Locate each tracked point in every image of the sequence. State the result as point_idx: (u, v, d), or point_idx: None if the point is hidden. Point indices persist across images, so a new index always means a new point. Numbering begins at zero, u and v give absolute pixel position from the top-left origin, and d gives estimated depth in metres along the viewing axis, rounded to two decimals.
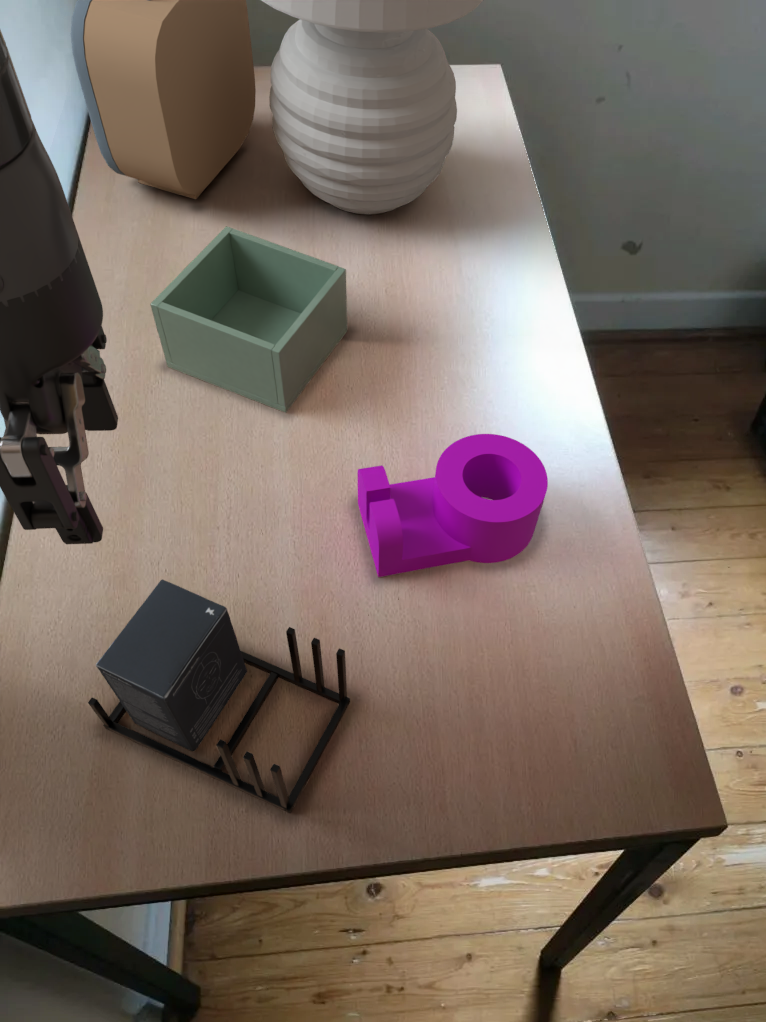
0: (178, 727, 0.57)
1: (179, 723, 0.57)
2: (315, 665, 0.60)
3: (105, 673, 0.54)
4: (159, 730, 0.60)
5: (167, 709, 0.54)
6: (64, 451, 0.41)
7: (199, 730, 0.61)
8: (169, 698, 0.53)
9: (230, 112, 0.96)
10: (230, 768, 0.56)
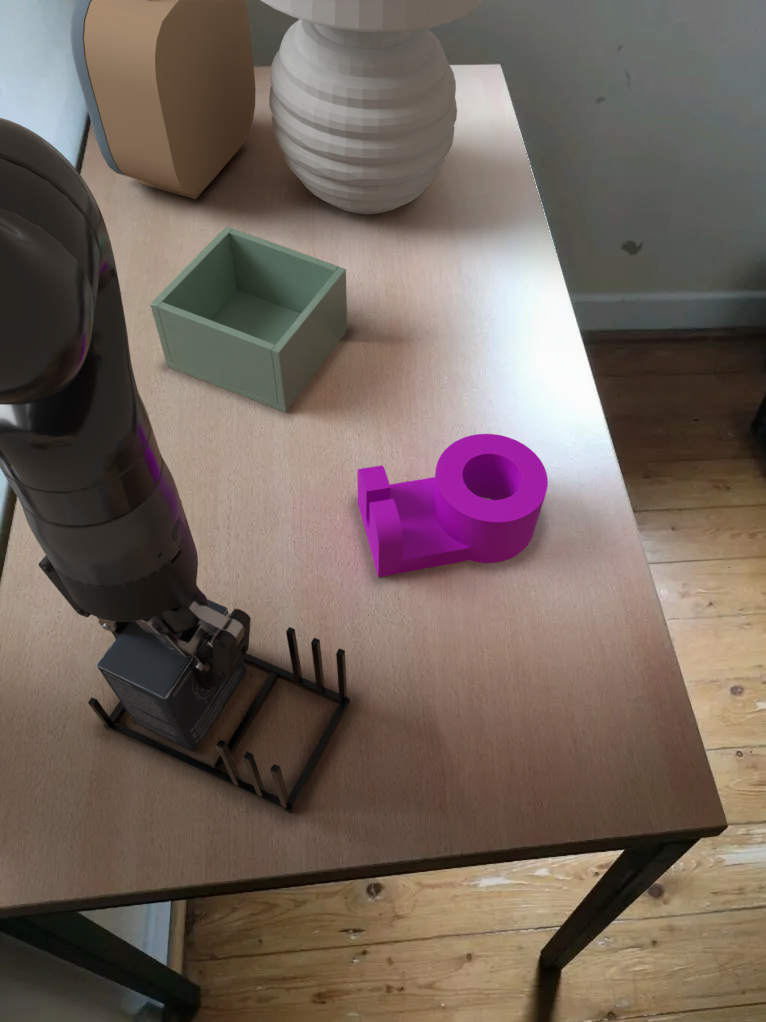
0: (178, 727, 0.57)
1: (180, 724, 0.57)
2: (315, 665, 0.60)
3: (106, 673, 0.54)
4: (159, 730, 0.60)
5: (168, 709, 0.54)
6: None
7: (199, 730, 0.61)
8: (169, 699, 0.53)
9: (230, 112, 0.96)
10: (230, 768, 0.56)
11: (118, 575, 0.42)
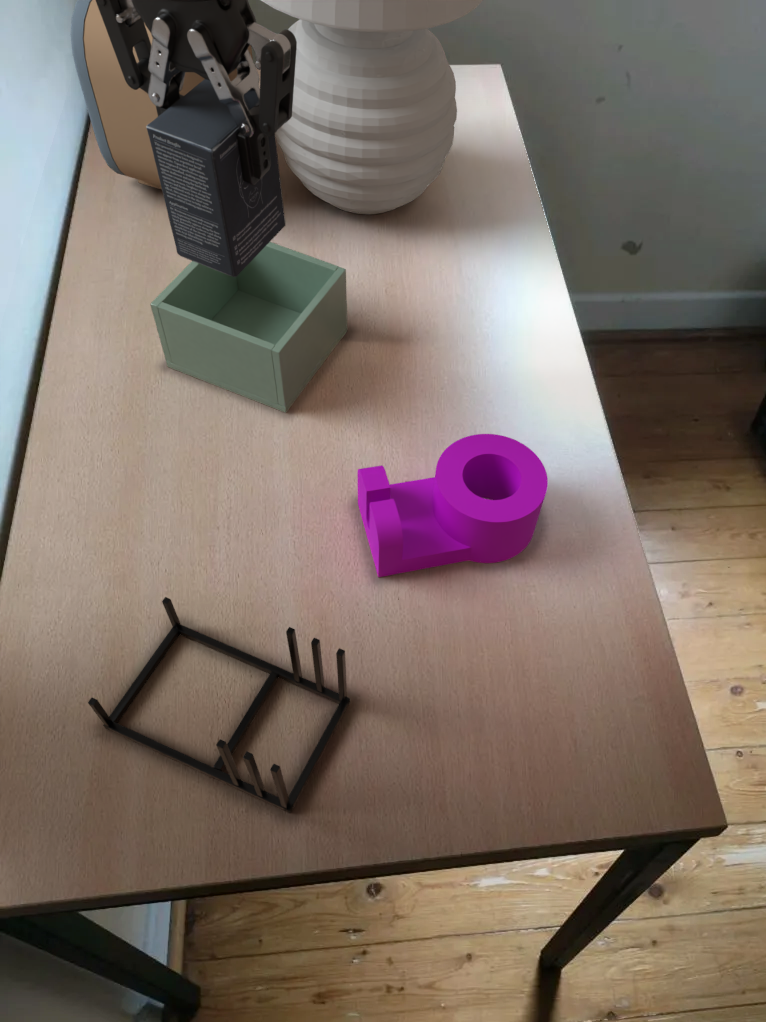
0: (222, 219, 0.59)
1: (224, 212, 0.59)
2: (315, 665, 0.60)
3: (155, 138, 0.56)
4: (202, 247, 0.63)
5: (214, 176, 0.56)
6: (249, 74, 0.55)
7: (241, 249, 0.63)
8: (216, 156, 0.55)
9: None
10: (230, 768, 0.56)
11: None
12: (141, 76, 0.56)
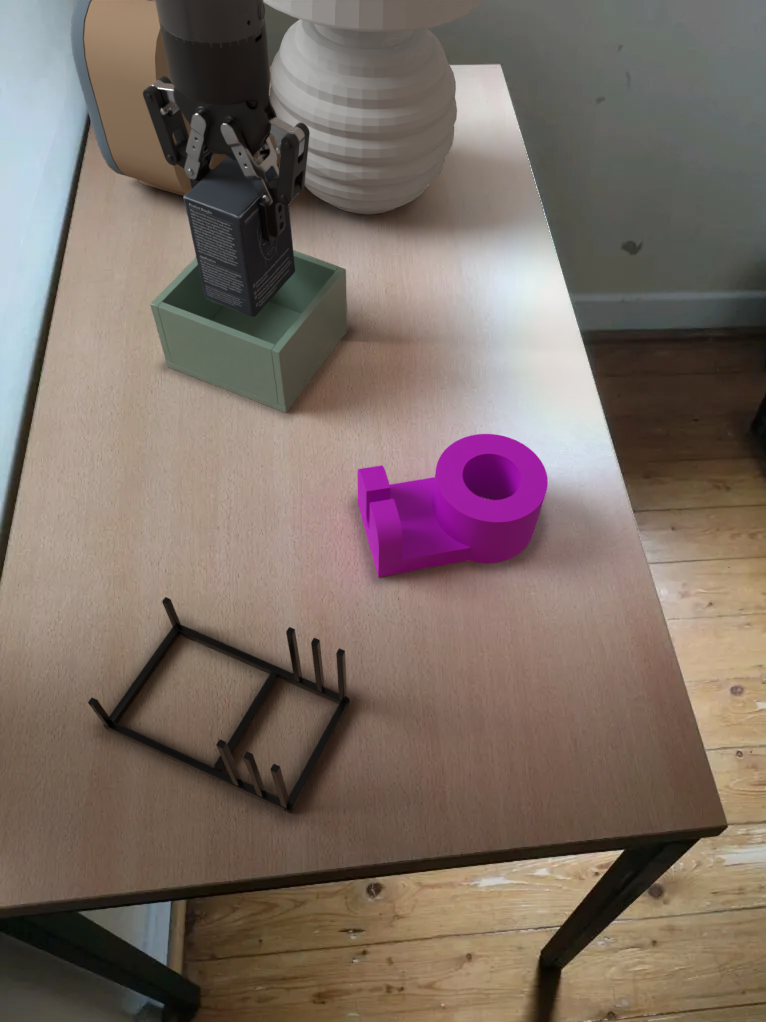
0: (245, 270, 0.71)
1: (247, 265, 0.70)
2: (315, 665, 0.60)
3: (190, 206, 0.68)
4: (227, 292, 0.74)
5: (239, 237, 0.68)
6: (269, 155, 0.66)
7: (259, 294, 0.74)
8: (242, 222, 0.67)
9: None
10: (230, 768, 0.56)
11: (219, 30, 0.56)
12: (178, 155, 0.68)
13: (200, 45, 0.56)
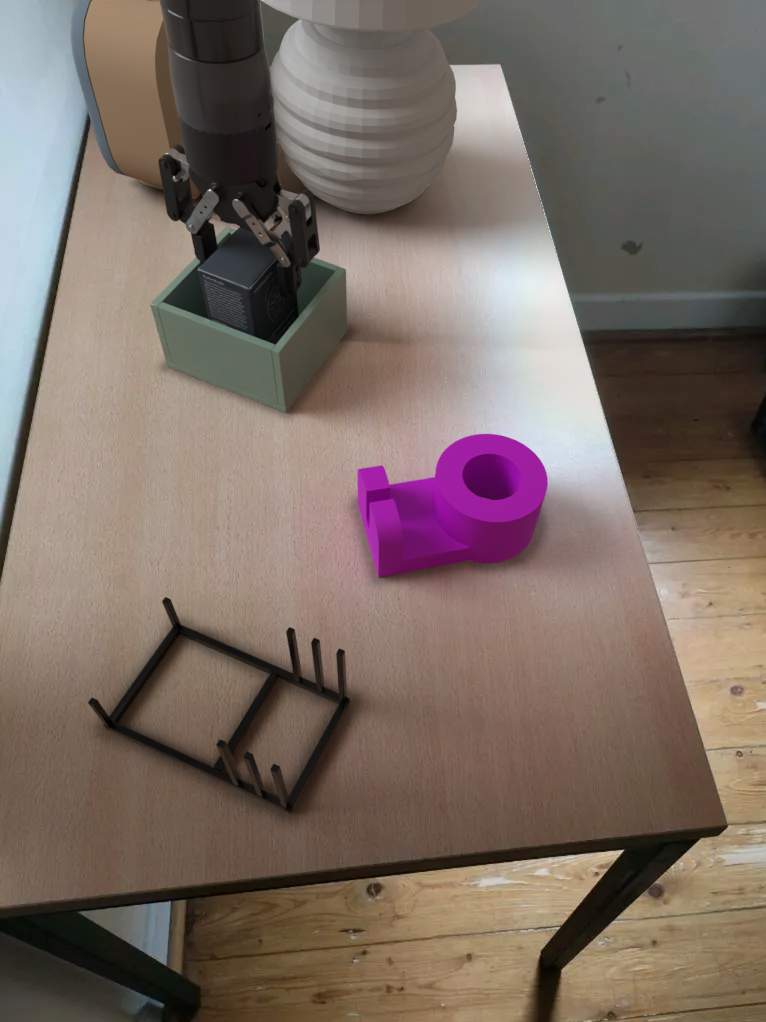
0: (254, 334, 0.77)
1: (256, 329, 0.76)
2: (315, 665, 0.60)
3: (204, 277, 0.74)
4: None
5: (249, 305, 0.74)
6: (282, 221, 0.71)
7: None
8: (251, 292, 0.73)
9: None
10: (230, 768, 0.56)
11: (232, 122, 0.61)
12: (180, 212, 0.73)
13: (215, 135, 0.62)
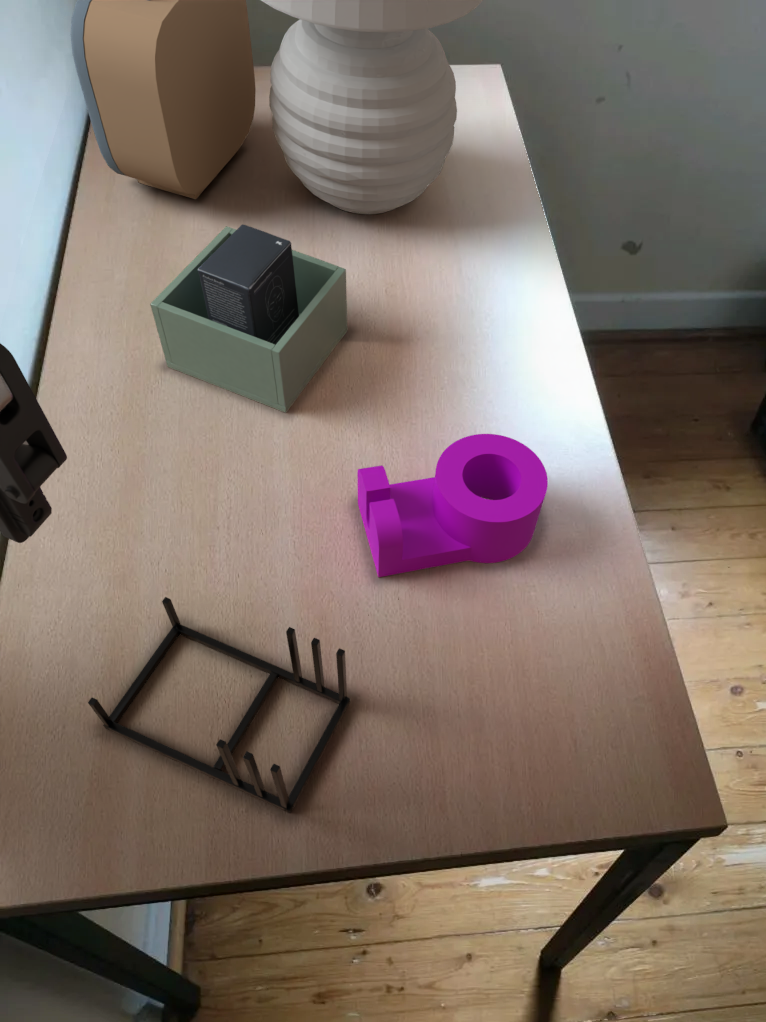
0: (254, 334, 0.77)
1: (256, 329, 0.76)
2: (315, 665, 0.60)
3: (204, 277, 0.74)
4: None
5: (249, 306, 0.74)
6: None
7: None
8: (251, 292, 0.73)
9: (230, 112, 0.96)
10: (230, 768, 0.56)
11: None
12: None
13: None
